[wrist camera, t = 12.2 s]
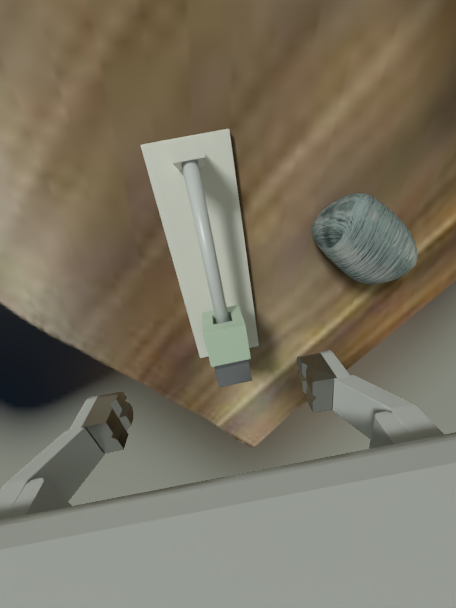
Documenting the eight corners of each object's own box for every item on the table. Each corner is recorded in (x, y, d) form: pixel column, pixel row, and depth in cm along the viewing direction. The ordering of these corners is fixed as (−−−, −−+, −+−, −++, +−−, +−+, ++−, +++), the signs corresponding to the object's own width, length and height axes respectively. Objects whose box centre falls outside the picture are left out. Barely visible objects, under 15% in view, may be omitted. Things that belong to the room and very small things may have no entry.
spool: (289, 244, 30) (372, 238, 22) (318, 184, 31) (407, 158, 23) (335, 294, 38) (409, 304, 29) (357, 245, 39) (433, 241, 31)
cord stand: (228, 130, 27) (241, 100, 18) (257, 342, 40) (273, 382, 31) (142, 146, 27) (114, 123, 18) (200, 354, 40) (200, 398, 31)
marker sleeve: (238, 304, 32) (245, 324, 27) (243, 335, 34) (250, 358, 29) (202, 312, 31) (202, 333, 27) (209, 342, 34) (211, 367, 29)
